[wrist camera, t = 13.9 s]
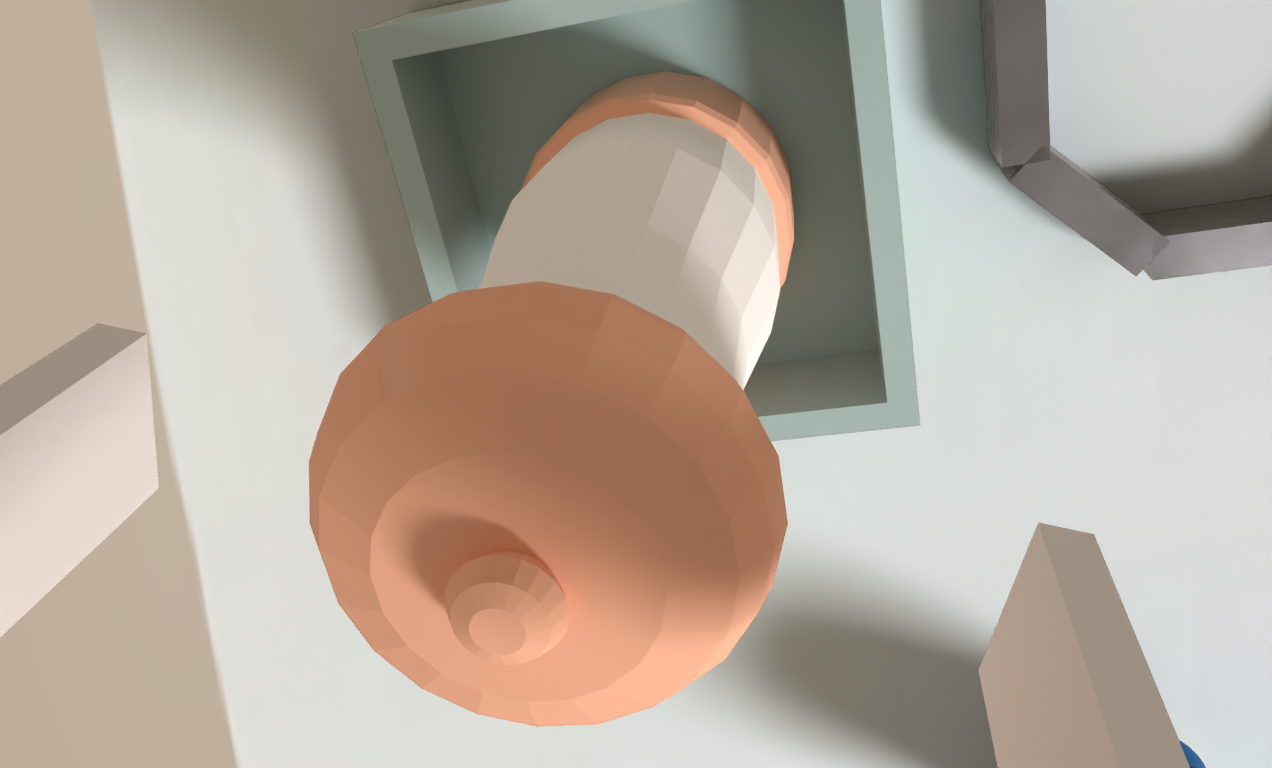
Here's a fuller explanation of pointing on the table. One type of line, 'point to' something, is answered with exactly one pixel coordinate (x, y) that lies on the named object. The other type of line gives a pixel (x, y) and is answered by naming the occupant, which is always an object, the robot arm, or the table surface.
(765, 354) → the bin
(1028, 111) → the collar
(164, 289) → the table surface
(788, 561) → the table surface
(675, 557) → the salt shaker
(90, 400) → the robot arm
